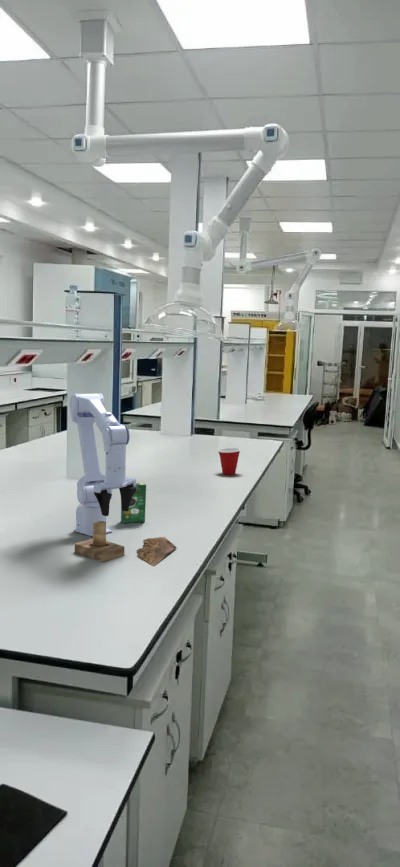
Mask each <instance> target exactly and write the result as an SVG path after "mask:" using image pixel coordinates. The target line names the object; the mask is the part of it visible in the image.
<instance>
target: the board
mask: <svg viewBox="0 0 400 867" xmlns="http://www.w3.org/2000/svg"><path fill="white" fill-rule="evenodd" d="M74 553H77V554H79V555H81V556H85V557H88V558H90V559H93V560H97V561H100V562H103V563H104V562H106V561H110V560H113V559H116V558H119V557H122V556H125V545H120V544H118V543H115V542H112V541H108V540H106V544H105V547H103V548H99V549H98V548H95V547H94V545H93V538H90V539H85V540H83V541H79V542H75V543H74Z"/></svg>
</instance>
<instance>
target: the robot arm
mask: <svg viewBox="0 0 400 867" xmlns="http://www.w3.org/2000/svg"><path fill="white" fill-rule="evenodd" d="M69 398H70V399H69V410H70V417H71V421H72V422H74V424H76V427H77V430H78V431H77V432H78V437H79V444H80V452H81V458H82V465H83V472H84V474H83V475H82V477H80V478H79V479H78V481H77V483H76V488H77V490H76V498H77V502H79V504H78V506H76V509H75V510H76V511H75V528H73V531H74V532H76V533H80V534H83V535H87V536H89V537H93V522H96V521H104V522H106V523H107V517H108V516H109V515H110V502H111V500H112V498H113V490H116V489H118V490H119V494H120V504H121V505H120V506H121V508H122V510H123V511H126V512H127V511H128V509H129V505H130V502H131V499H132V497H133V495H134V493H135V491H136V487H133V486H135V485H136V483H137V478H133V477H130V478H126V477H127V476H126V474H127V473H126V466H127V465H126V464H127V463H126V460H127V458H126V457H127V445H129V442H130V437H131V436H130V430H129V427H128V425H127V424H120V422H119V420H118V419H117V418H116V417H115V416H114V414H113V413H112V412H111V411H107V409H106V408H105V402H106V400H105V397H104V395H103V394H102V393H101V392H96V393H72V394H71V396H70V397H69ZM94 424H95V425H96V426H97V428H98V429H99V431H100V432H101V434H102V442H103V449H104V452H105V474H104V473H101V470H100V462H99V456H98V449H97V444H96V436H95V430H94ZM121 508H120V509H121ZM112 531H113V530H112V529H109V528H106V534H109V533H111V532H112Z"/></svg>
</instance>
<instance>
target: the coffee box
mask: <svg viewBox="0 0 400 867" xmlns="http://www.w3.org/2000/svg"><path fill="white" fill-rule="evenodd" d="M133 487H136V491H135V493H134V495H133V497H132V499H131V502H130V505H129V509H128V511H127V512H126V511H123V510H122V508H120V522H121V524H122V523H123V524H124V523H125V524H128V523H145V522H146V501H147V484H146V483H144V482H143V483H142V482H138V483H137V482H136V485H135V486H133Z"/></svg>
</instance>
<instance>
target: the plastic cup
mask: <svg viewBox="0 0 400 867" xmlns="http://www.w3.org/2000/svg"><path fill="white" fill-rule="evenodd" d="M241 450H242V449H241V448H239V447H223V448H218V449H217V452H218V455H219V459H220V466H221V472H222V475H224V476H235V474H236V471H237V468H238V461H239V456H240V453H241Z"/></svg>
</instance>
